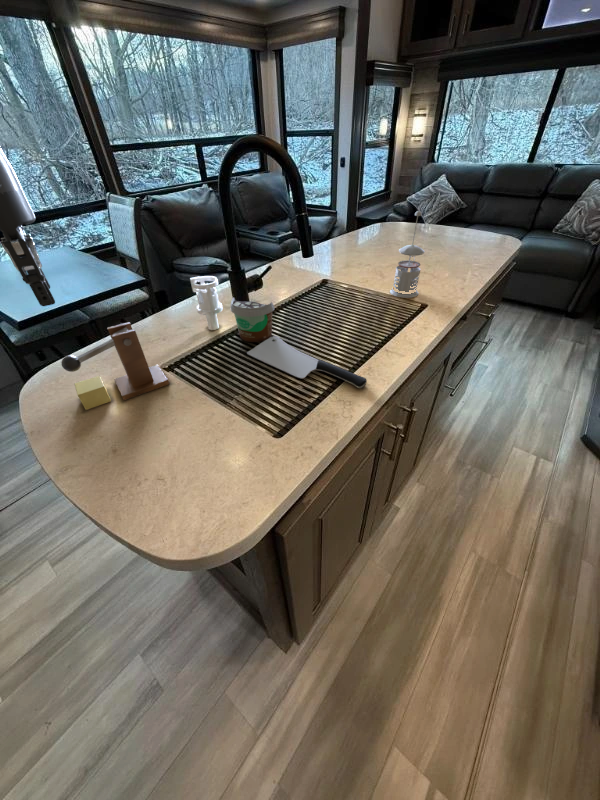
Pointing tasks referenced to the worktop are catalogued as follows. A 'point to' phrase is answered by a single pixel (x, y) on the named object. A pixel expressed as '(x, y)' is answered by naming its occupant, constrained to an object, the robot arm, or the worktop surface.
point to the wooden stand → (134, 364)
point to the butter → (92, 392)
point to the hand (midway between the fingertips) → (46, 296)
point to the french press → (404, 276)
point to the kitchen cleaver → (299, 361)
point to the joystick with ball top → (86, 355)
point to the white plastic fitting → (207, 299)
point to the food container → (253, 320)
